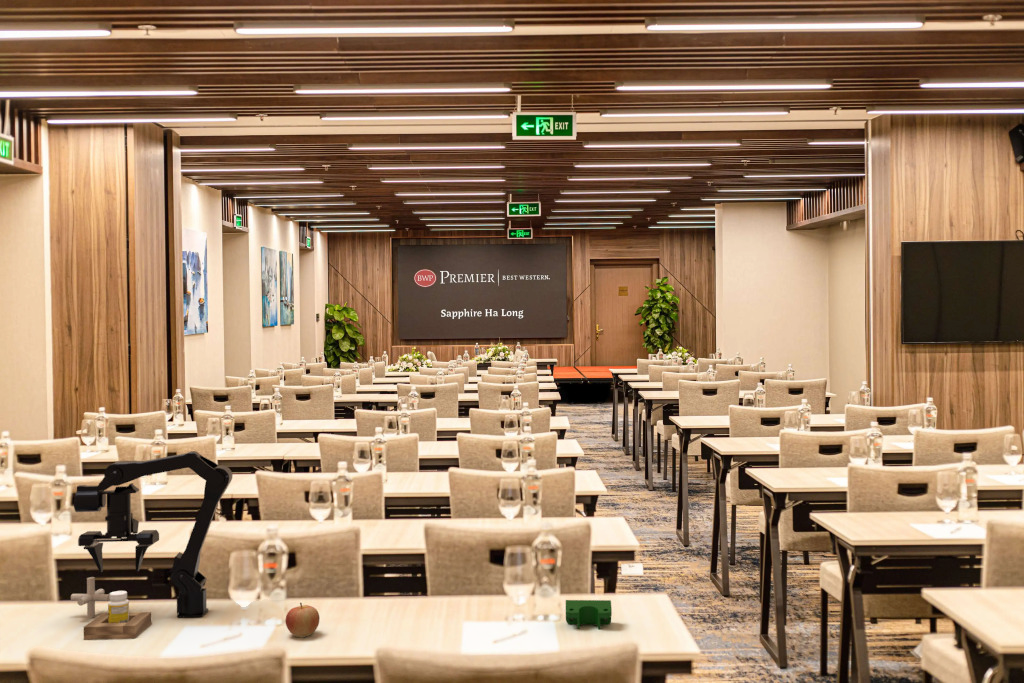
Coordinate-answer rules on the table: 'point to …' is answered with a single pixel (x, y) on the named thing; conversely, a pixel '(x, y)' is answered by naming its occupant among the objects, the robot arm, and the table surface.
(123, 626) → the holder
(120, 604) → the supplement bottle
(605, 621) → the clamp
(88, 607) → the pipe connector
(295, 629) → the apple
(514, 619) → the table surface
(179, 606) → the robot arm
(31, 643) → the table surface
